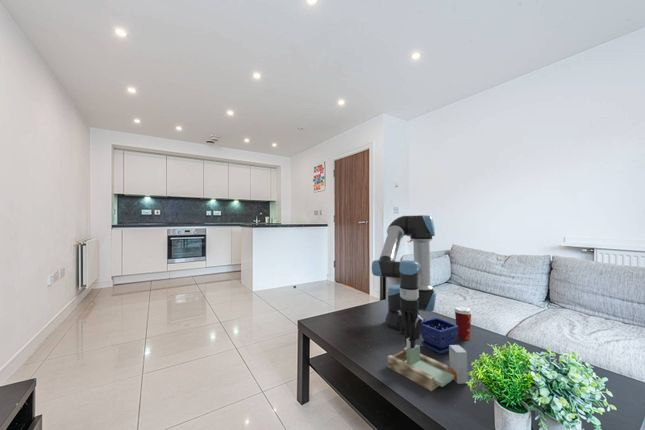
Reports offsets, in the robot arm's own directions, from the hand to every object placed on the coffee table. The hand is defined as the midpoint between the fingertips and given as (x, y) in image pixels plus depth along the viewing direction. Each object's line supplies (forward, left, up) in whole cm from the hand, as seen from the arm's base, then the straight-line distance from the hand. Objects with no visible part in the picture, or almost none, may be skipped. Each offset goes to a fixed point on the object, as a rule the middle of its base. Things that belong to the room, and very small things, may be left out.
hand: (410, 354), depth 111 cm
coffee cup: (0, +47, -6) cm, 47 cm away
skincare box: (+16, +9, -6) cm, 19 cm away
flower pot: (-2, +26, -6) cm, 27 cm away
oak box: (+3, 0, -6) cm, 7 cm away
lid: (+8, 0, -4) cm, 8 cm away
